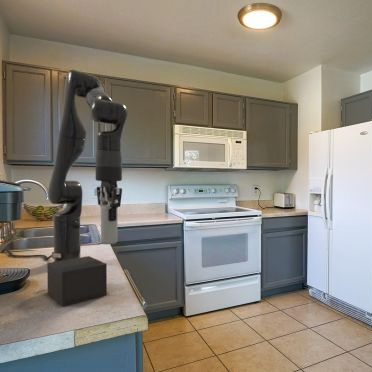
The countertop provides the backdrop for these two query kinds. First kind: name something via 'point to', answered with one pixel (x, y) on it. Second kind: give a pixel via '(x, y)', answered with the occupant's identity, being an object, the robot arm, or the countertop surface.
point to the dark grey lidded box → (76, 280)
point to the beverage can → (108, 227)
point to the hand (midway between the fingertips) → (108, 219)
